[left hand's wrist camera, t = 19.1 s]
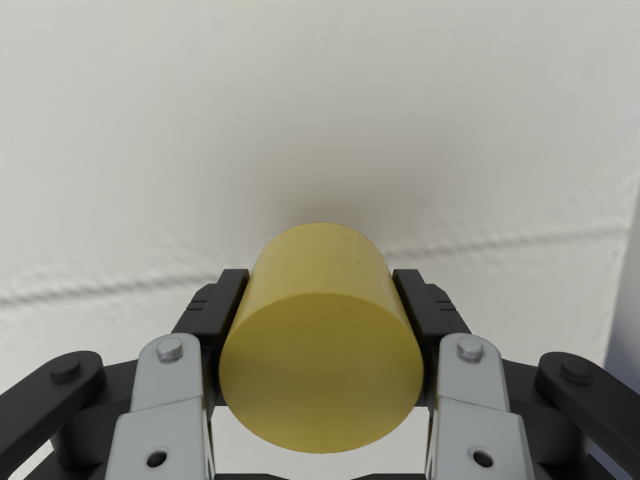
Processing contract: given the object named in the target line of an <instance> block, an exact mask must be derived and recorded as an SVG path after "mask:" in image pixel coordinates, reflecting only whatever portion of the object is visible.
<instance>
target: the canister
mask: <svg viewBox="0 0 640 480" xmlns="http://www.w3.org/2000/svg"><path fill="white" fill-rule="evenodd" d="M218 371H219V382H220V387H221V391H222V394H223V397H224V399H225V402H226V403H227V405H228V407H229V409H230V410H231V412H232V413H233V414H234V416H235V417H236V418H237V419H238V420H239V421H240V422H241V423H242V424H243V425H244V426H245V427H246V428H247V429H248V430H250V431H251V432H252V433H254V434H255V435H257V436H258V437H260V438H262V439H264V440H265V441H268V442H270V443H272V444H274V445H277V446H280V447H283V448H286V449H290V450H294V451H298V452H306V453H320V454H323V453H337V452H344V451H349V450H353V449H357V448H360V447H363V446H365V445H368V444H370V443H373V442H375V441H377V440H379V439H381V438H382V437H384V436H385V435H387V434H389V433H390V432H391V431H393V430H394V429H395V428H396V427H398V426H399V425H400V424H401V423H402V422H403V421H404V420H405V419H406V417H407V416H408V415H409V413H410V412H411V411H412V409H413V408H414V406H415V404H416V402H417V400H418V398H419V395H420V392H421V389H422V384H423V379H424V365H423V358H422V354H421V351H420V348H419V345H418V342H417V340H416V337H415V335H414V332H413V330H412V327H411V325H410V322H409V320H408V317H407V314H406V312H405V309H404V307H403V304H402V302H401V299H400V297H399V294H398V292H397V289H396V287H395V284H394V282H393V279H392V276H391V274H390V271H389V269H388V266H387V264H386V262H385V260H384V257H383V255H382V254H381V253H380V251H379V250H378V248H377V247H376V246H375V245H374V244H373V243H372V242H371V241H370V240H369V239H368V238H366V237H365V236H364V235H362V234H361V233H359V232H357V231H355V230H353V229H351V228H349V227H346V226H343V225H339V224H334V223H324V222H317V223H308V224H303V225H299V226H296V227H293V228H291V229H289V230H287V231H284V232H283V233H281V234H280V235H278V236H277V237H275V238H274V239H273V240H272V241H271V242H269V244H268V245H267V246H266V247H265V248H264V249H263V251H262V252H261V254H260V255H259V257H258V259H257V261H256V263H255V266H254V268H253V271H252V274H251V276H250V279H249V281H248V284H247V287H246V289H245V292H244V294H243V297H242V300H241V302H240V305H239V307H238V310H237V312H236V315H235V318H234V320H233V323H232V325H231V328H230V331H229V333H228V336H227V338H226V341H225V344H224V346H223V349H222V352H221V356H220V360H219V369H218Z"/></svg>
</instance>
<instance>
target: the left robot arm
mask: <svg viewBox="0 0 640 480" xmlns="http://www.w3.org/2000/svg"><path fill="white" fill-rule="evenodd" d="M249 279H250V277H249V271H248V269H225V270H224V271H223V273H222V275H221V277H220V278H219V280H218V282H217V284H207V285H205V286H204V287H203V288H201V289H200V290H198V291H197V292H196V294H195V295H194V297H193V299H192V300H191V303H189V305H188V307H187V308H186V311H184V313H183V315H182V316H181V318H180V319H179V321H178V323H177V324H176V326H175V327H174V329H173V331H172V332H171V334H167V335H164V336H161V337H159V338H156V339H154V340H153V341H151V342H150V343H148V344H147V345H146V346H145V347H144V348H143V349H142V350H141V352H140V354H139V358H138V359H136V360H133V361H128V362H124V363H119V364H114V365H110V366H105V367H104V366H103V362H102V359H101V356H100V355H99V354H97V353H96V352H92V351H76V352H71V353H68V354H64V355H61V356H59V357H57V358H54V359H52V360H50V361H49V362H47V363H45V364H44V365H42V366H41V367H39V368H38V369H37V370H35V371H34V372H32V373H31V374H30V375H28V376H27V377H25V378H24V379H23V380H21V381H20V382H18V383H17V384H15V385H14V386H13V387H11V388H10V389H8V390H7V391H6V392H4V393H3V394H1V395H0V480H8V478H9V477H10V476H11V474H12V473H13V472H14V471H15V470H16V469H17V468H18V467H19V466H20V465H22V464H23V463H24V462H25V461H26V460H27V459H28V458H29V457H30V456H31V455H32V454H33V453H35V452H36V451H37V450H38V449H39V448H40V447H41V446H42V445H43V444H44V443H45V442H46V441H48V440H49V439H50V441H51V444H52V446H53V449H54V451H53V452H51V453H50V454H49V455H48V456H47V457H46V458H45V459H44V460H43V461H42V462H41V463H40V464H39V465H38V466H37V467H36V468H35V469H34V470H33V471H32V472H31V473H30V474H29V475H28V476H27V477H26V478H25V479H24V480H288V479H285V478H281V477H277V476H274V475H270V474H216V465H215V454H214V442H213V430H212V422H211V417H212V414H213V411H214V408H215V406H228V405H227V403H226V402H225V399H224V397H223V394H222V391H221V387H220V382H219V371H218V369H219V360H220V356H221V352H222V349H223V346H224V344H225V341H226V338H227V336H228V333H229V331H230V328H231V325H232V323H233V320H234V318H235V315H236V312H237V310H238V307H239V305H240V302H241V300H242V297H243V294H244V292H245V289H246V287H247V284H248V281H249ZM392 279H393V282H394V284H395V287H396V289H397V292H398V294H399V297H400V299H401V302H402V304H403V307H404V309H405V312H406V314H407V317H408V320H409V322H410V325H411V327H412V330H413V332H414V335H415V337H416V340H417V342H418V345H419V348H420V351H421V354H422V358H423V365H424V379H423V384H422V389H421V392H420V395H419V398H418V400H417V402H416V404H415V406H414V407H428V410H429V413H430V415H429V422H428V430H427V442H426V453H425V465H424V474H370V475H366V476H363V477H359V478H355V479H352V480H616V479H615V478H614V477H613V476H612V475H611V474H610V473H609V472H608V471H607V470H606V469H605V468H604V467H603V466H602V465H601V464H600V463H599V462H598V461H597V460H596V459H595V458H594V457H593V456H592V455H591V454H590V453H589V451H590V448H591V446H592V443H593V441H594V442H595V443H596V444H597V445H598V446H599V447H600V448H601V449H602V450H603V451H604V452H605V453H607V454H608V455H609V456H610V457H611V458H612V459H613V460H614V461H615V462H616V463H617V464H618V465H620V466H621V467H622V468H623V469H624V470H625V471H626V472H627V473H628V474H629V475H630V476H631V477H632V478H633V480H640V395H639V394H637V393H636V392H634V391H633V390H631V389H630V388H629V387H627V386H626V385H625V384H623V383H622V382H620V381H619V380H617V379H616V378H615V377H613V376H612V375H610V374H609V373H608V372H606V371H605V370H603V369H602V368H601V367H599V366H598V365H596V364H595V363H593V362H591V361H589V360H587V359H585V358H583V357H580V356H577V355H574V354H570V353H565V352H549V353H546V354H544V355H542V357H541V358H540V361H539V364H538V367H535V366H531V365H526V364H521V363H516V362H512V361H508V360H505V359H502V358H501V354H500V352H499V350H498V349H497V348H496V347H495V346H494V345H493V344H492V343H490V342H489V341H487V340H486V339H484V338H481V337H479V336H476V335H473V334H472V333H471V332H470V330H469V329H468V327H467V325H466V324H465V322H464V321H463V319H462V318H461V316H460V314H459V313H458V311H456V308H455V306H454V305H453V303H451V300H450V299H449V297H448V295H447V294H446V292H445V291H443V290H442V289H440V288H439V287H438V286H436V285H435V284H425V282H424V280H423V279H422V277H421V275H420V273H419V271H418V270H417V269H394V271H393V275H392Z"/></svg>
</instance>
